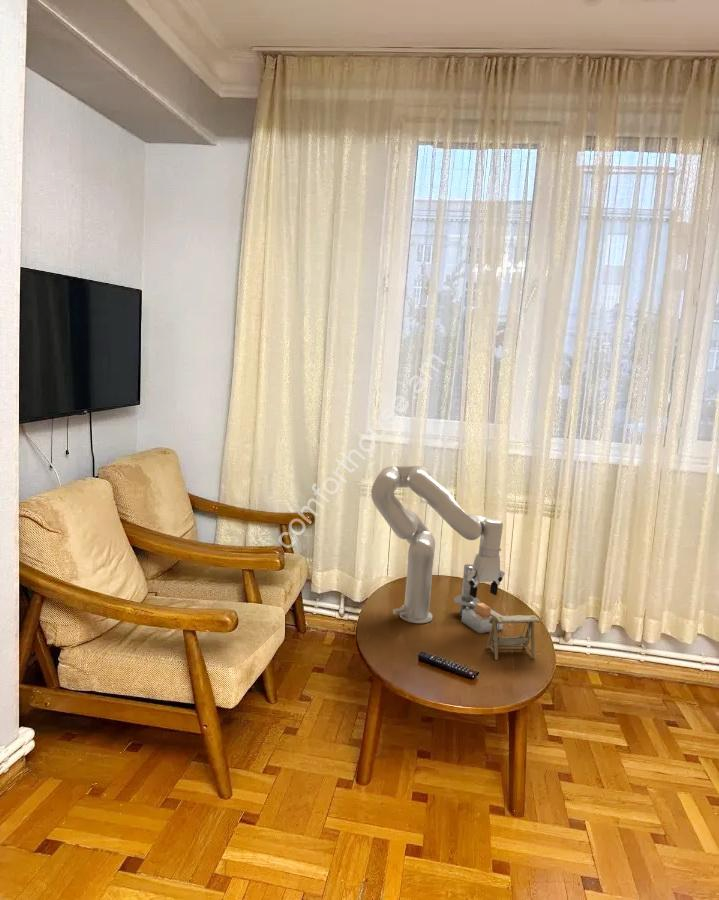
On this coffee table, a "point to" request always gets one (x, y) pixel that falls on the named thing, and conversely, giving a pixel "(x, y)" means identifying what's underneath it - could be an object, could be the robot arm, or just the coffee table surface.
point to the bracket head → (473, 607)
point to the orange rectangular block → (483, 610)
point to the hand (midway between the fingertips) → (483, 595)
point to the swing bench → (512, 640)
